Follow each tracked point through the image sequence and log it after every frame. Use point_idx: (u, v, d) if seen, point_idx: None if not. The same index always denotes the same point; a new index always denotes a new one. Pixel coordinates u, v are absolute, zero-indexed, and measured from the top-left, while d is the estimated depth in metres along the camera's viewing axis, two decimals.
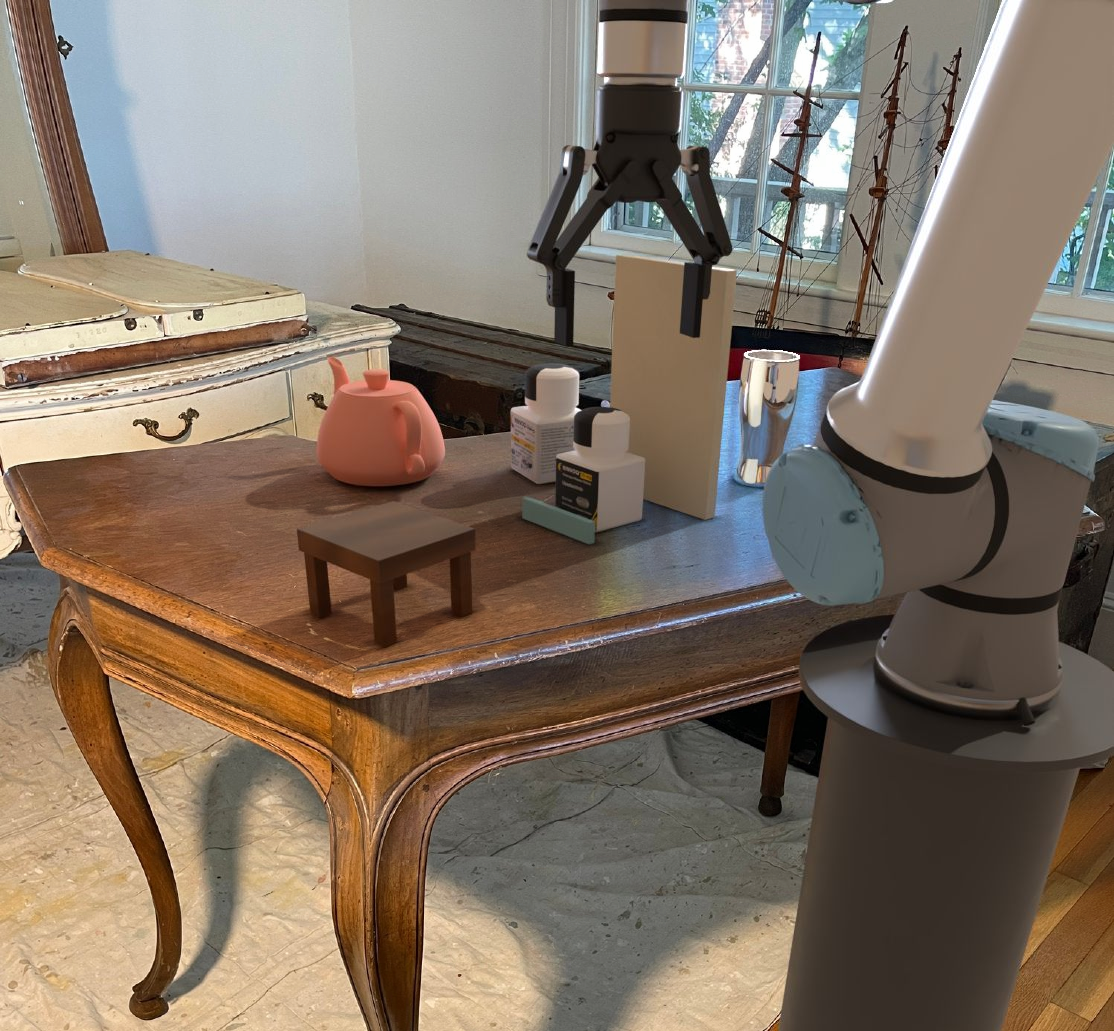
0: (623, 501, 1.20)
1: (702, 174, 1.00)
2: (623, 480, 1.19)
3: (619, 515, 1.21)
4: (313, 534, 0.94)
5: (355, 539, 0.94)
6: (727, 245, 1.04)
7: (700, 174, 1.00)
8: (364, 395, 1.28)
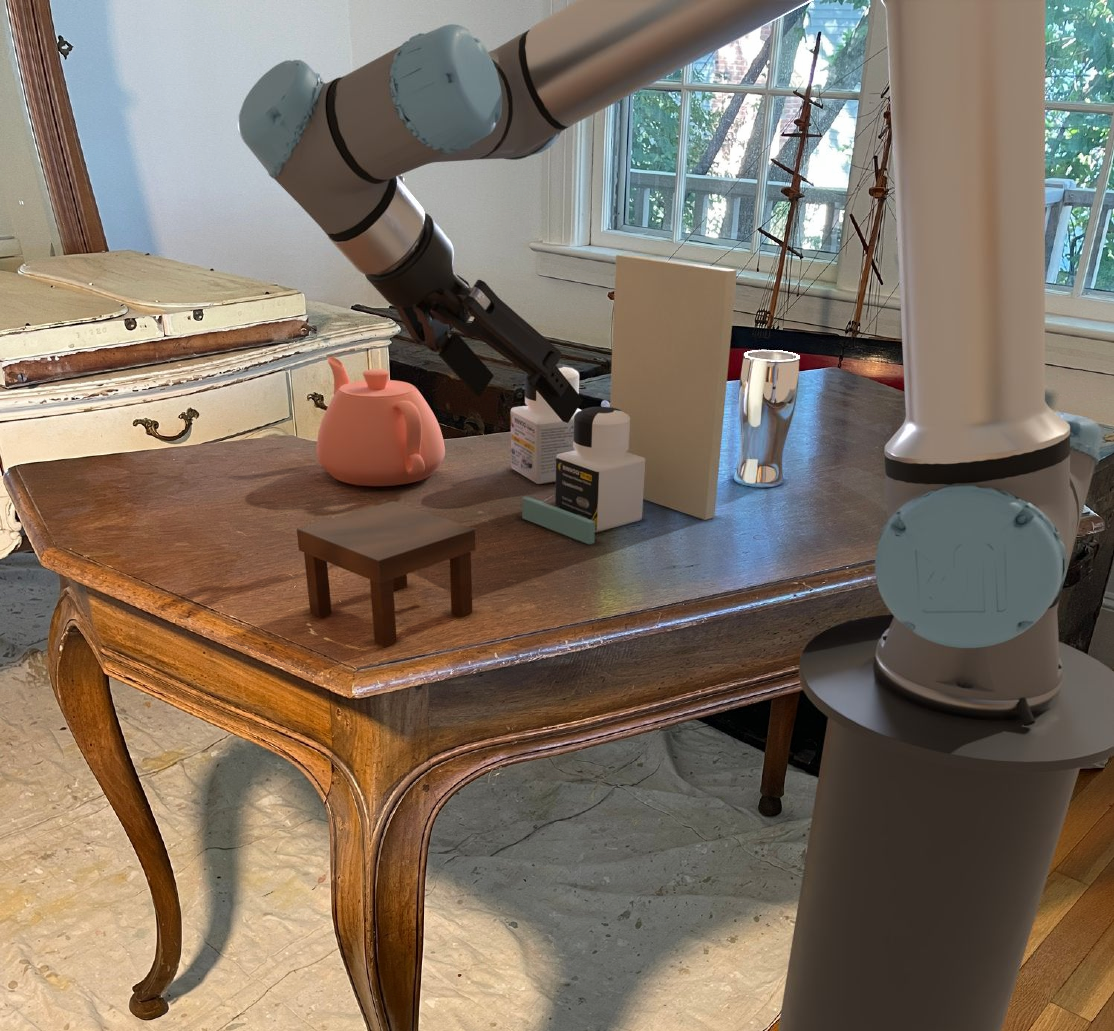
0: (623, 501, 1.20)
1: (478, 320, 0.95)
2: (623, 480, 1.19)
3: (619, 515, 1.21)
4: (313, 534, 0.94)
5: (355, 539, 0.94)
6: (539, 371, 0.98)
7: (477, 319, 0.95)
8: (364, 395, 1.28)
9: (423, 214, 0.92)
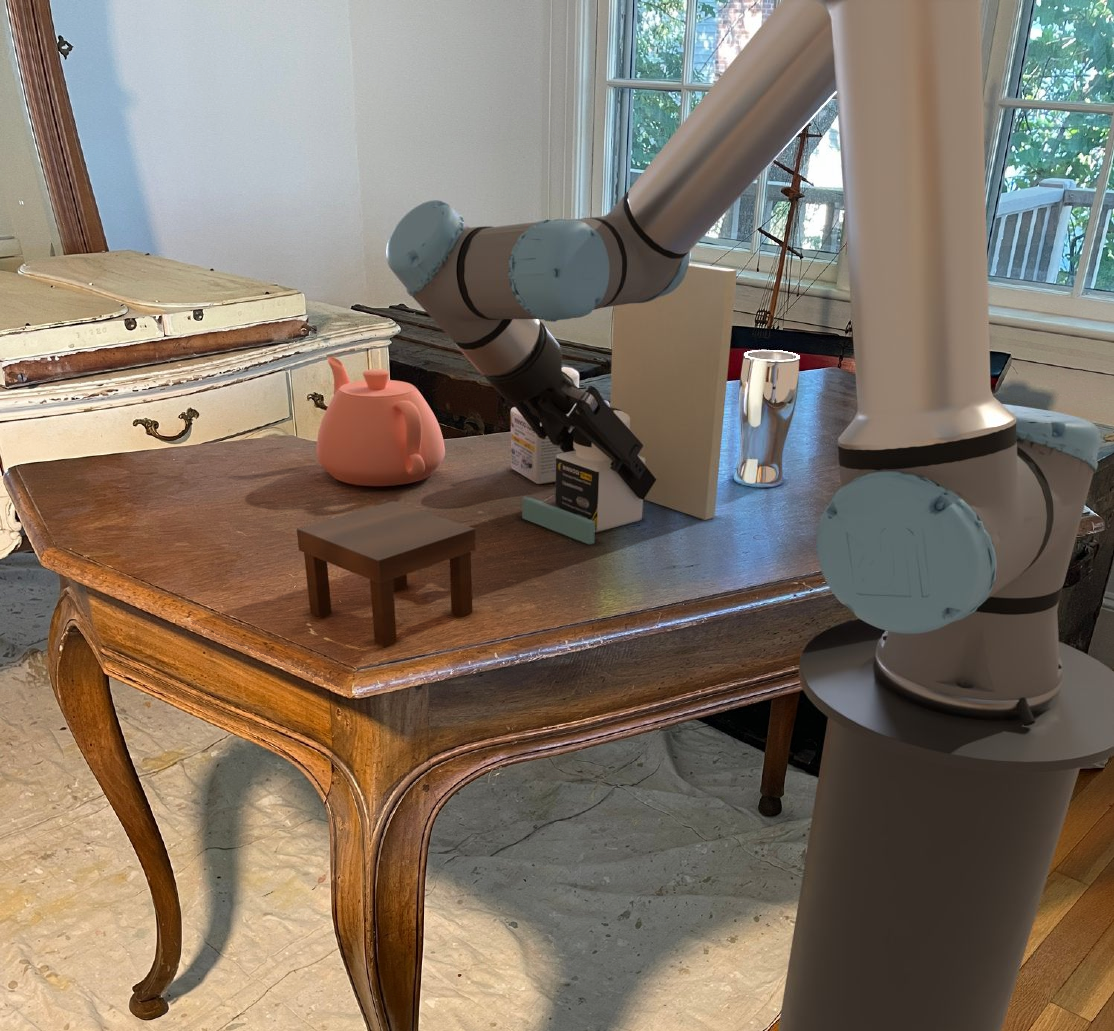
0: (623, 501, 1.20)
1: (584, 418, 1.09)
2: (623, 480, 1.19)
3: (619, 515, 1.21)
4: (313, 534, 0.94)
5: (355, 539, 0.94)
6: (624, 460, 1.13)
7: (583, 417, 1.09)
8: (364, 395, 1.28)
9: (538, 323, 1.04)
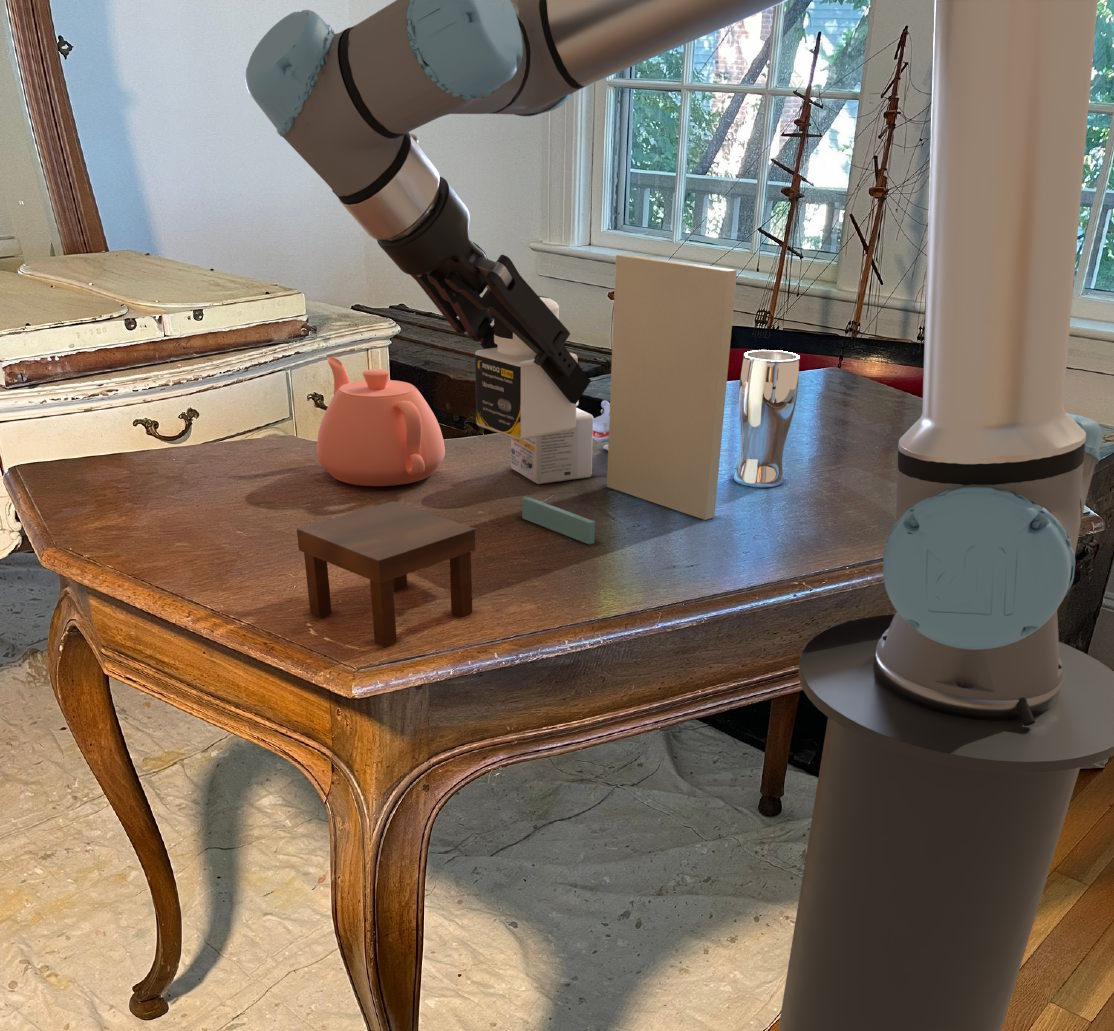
0: (552, 404, 1.04)
1: (497, 295, 0.93)
2: (551, 379, 1.03)
3: (547, 421, 1.04)
4: (313, 534, 0.94)
5: (355, 539, 0.94)
6: (548, 350, 0.97)
7: (495, 294, 0.93)
8: (364, 395, 1.28)
9: (438, 176, 0.88)
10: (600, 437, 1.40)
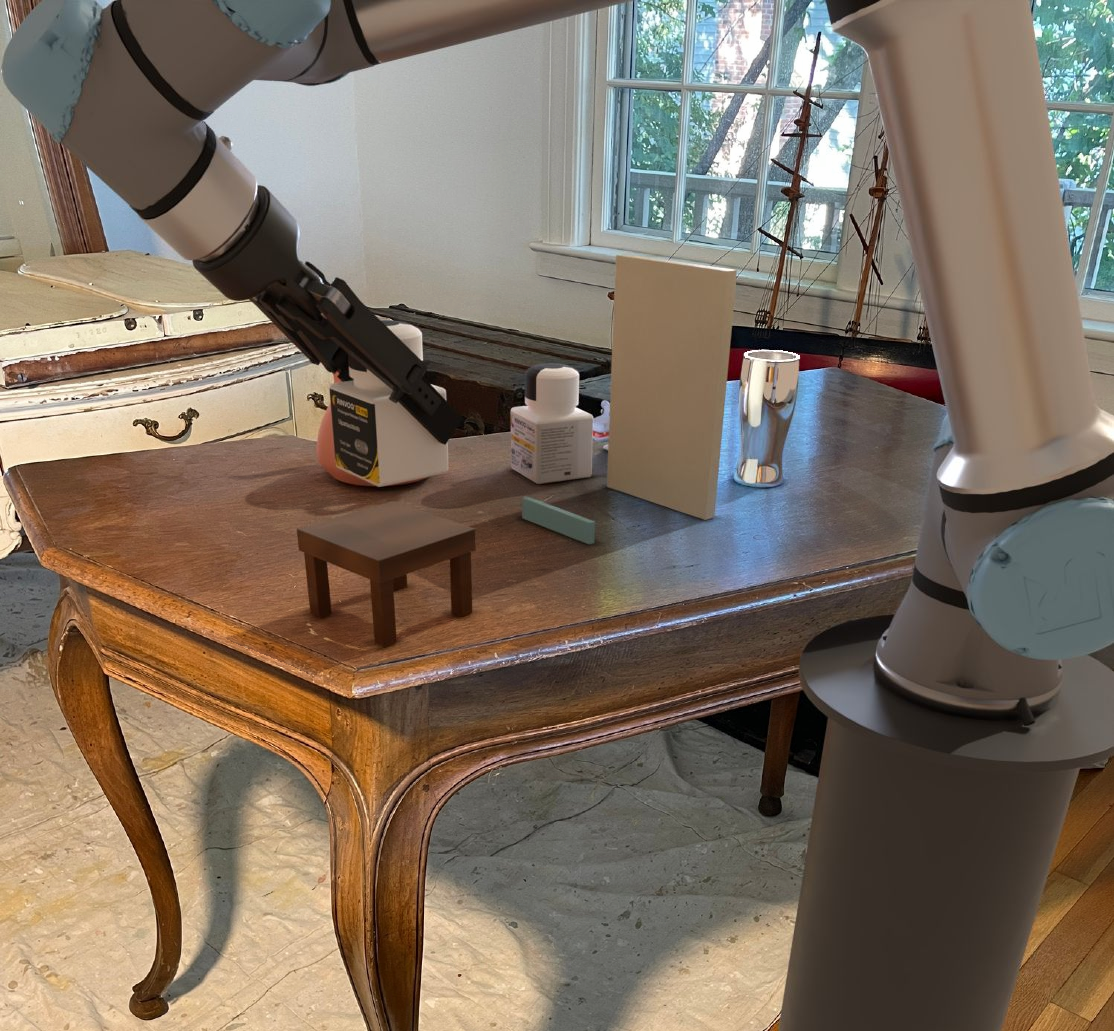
0: (417, 446, 0.91)
1: (334, 324, 0.79)
2: (413, 417, 0.90)
3: (412, 464, 0.91)
4: (313, 534, 0.94)
5: (355, 539, 0.94)
6: (401, 387, 0.84)
7: (332, 323, 0.80)
8: None
9: (255, 186, 0.75)
10: (600, 437, 1.40)
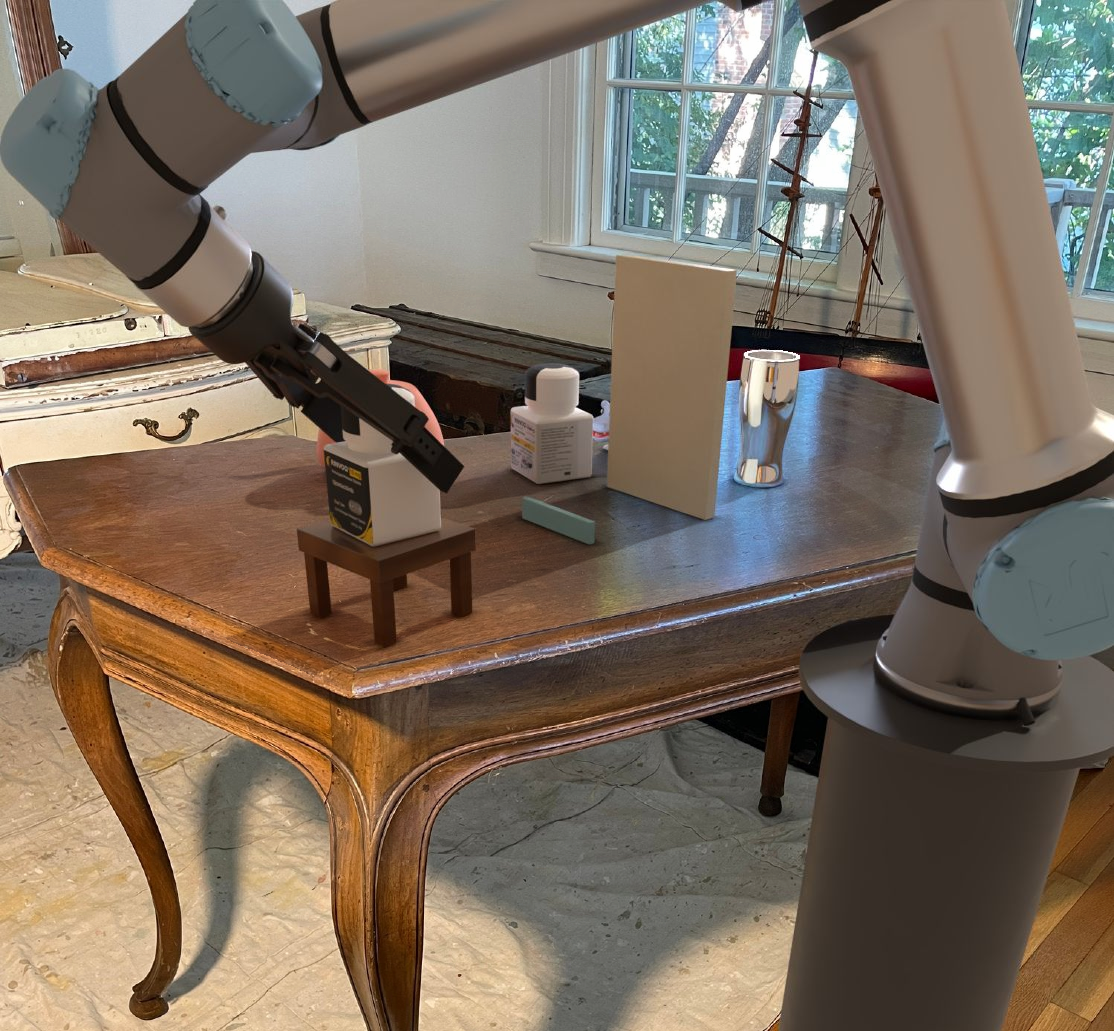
0: (410, 506, 0.92)
1: (323, 379, 0.80)
2: (406, 479, 0.91)
3: (405, 524, 0.93)
4: (313, 534, 0.94)
5: (355, 539, 0.94)
6: (401, 439, 0.82)
7: (322, 379, 0.80)
8: None
9: (249, 255, 0.76)
10: (600, 437, 1.40)
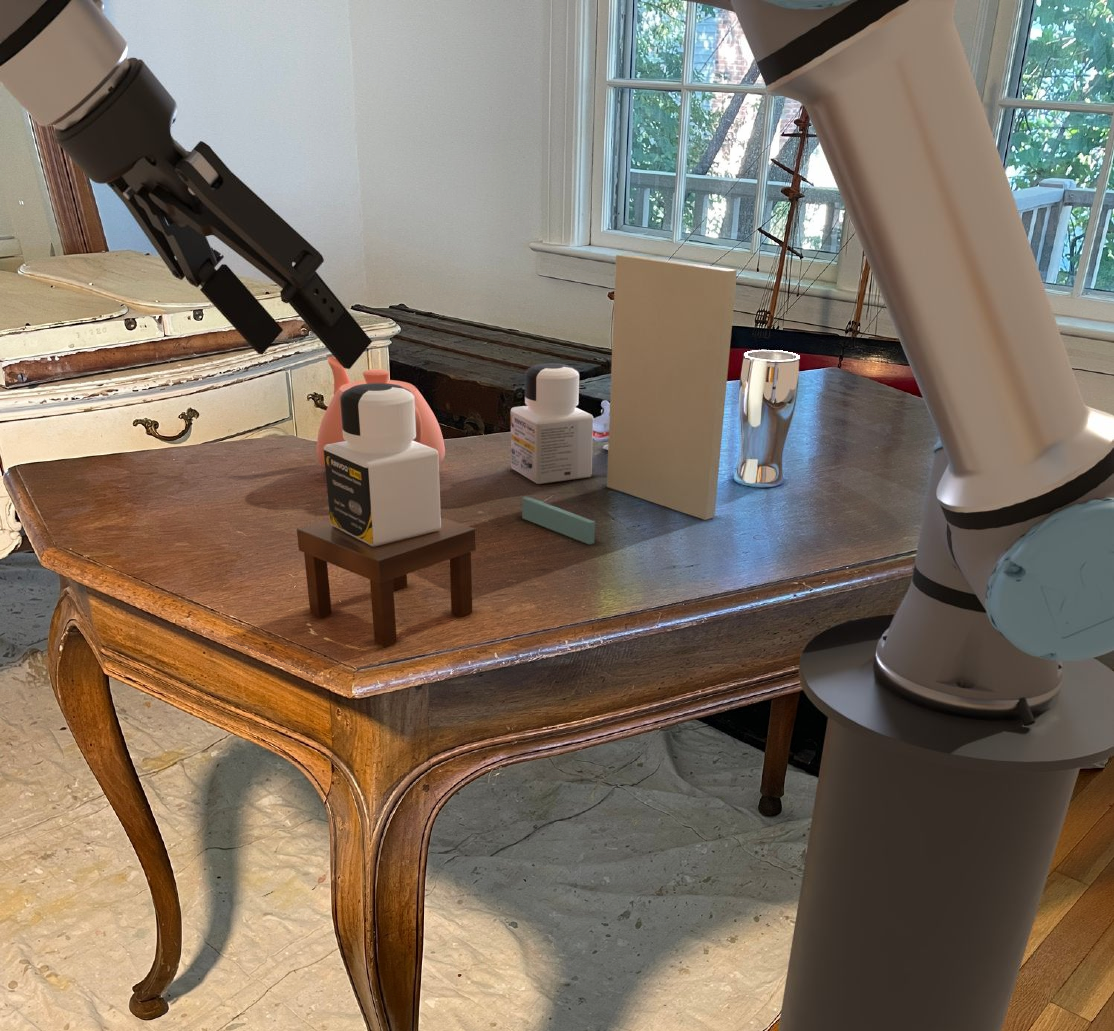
0: (410, 506, 0.92)
1: (202, 199, 0.70)
2: (406, 479, 0.91)
3: (405, 524, 0.93)
4: (313, 534, 0.94)
5: (355, 539, 0.94)
6: (289, 277, 0.72)
7: (200, 199, 0.70)
8: None
9: (123, 47, 0.67)
10: (600, 437, 1.40)
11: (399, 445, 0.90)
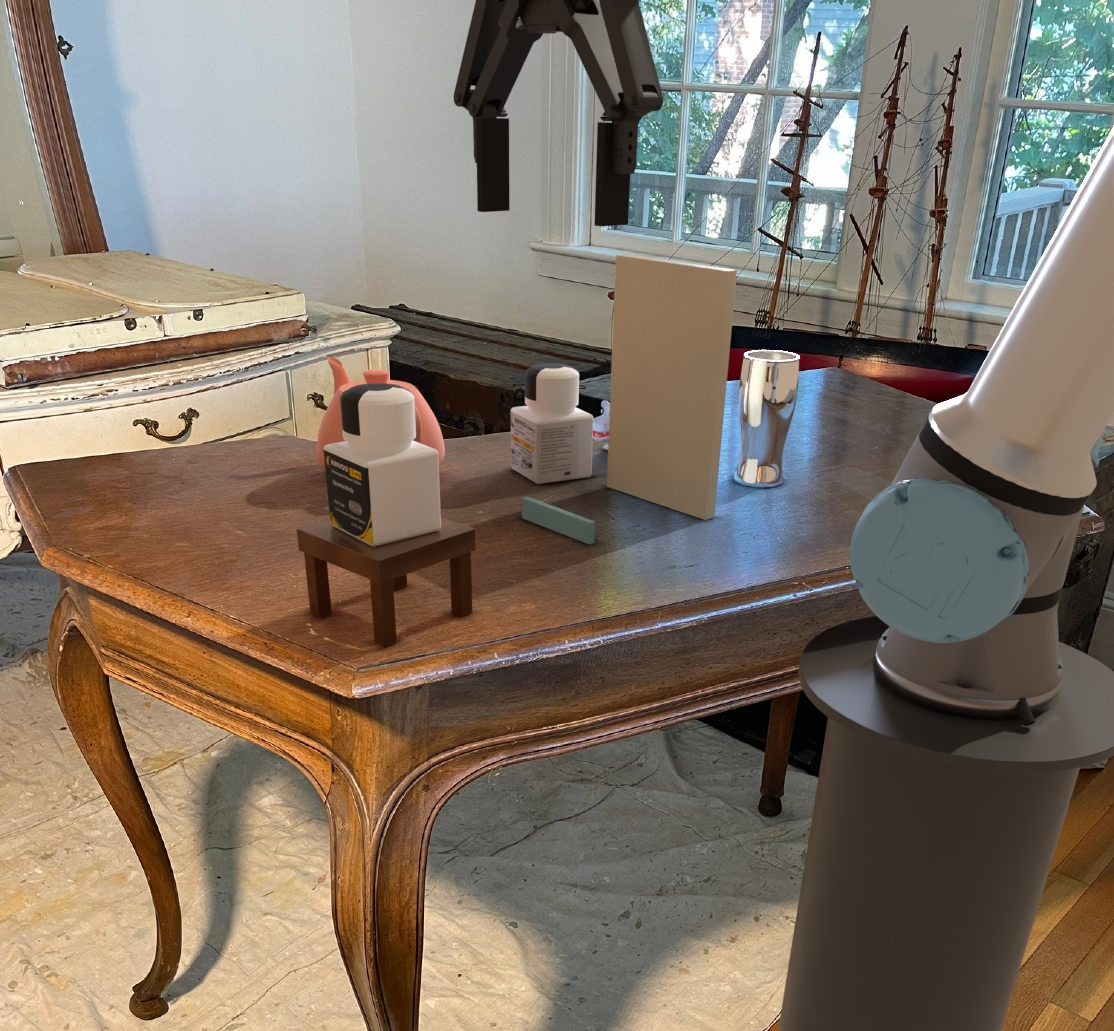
0: (410, 506, 0.92)
1: None
2: (406, 479, 0.91)
3: (405, 524, 0.93)
4: (313, 534, 0.94)
5: (355, 539, 0.94)
6: (631, 94, 0.73)
7: None
8: None
9: None
10: (600, 437, 1.40)
11: (399, 445, 0.90)
